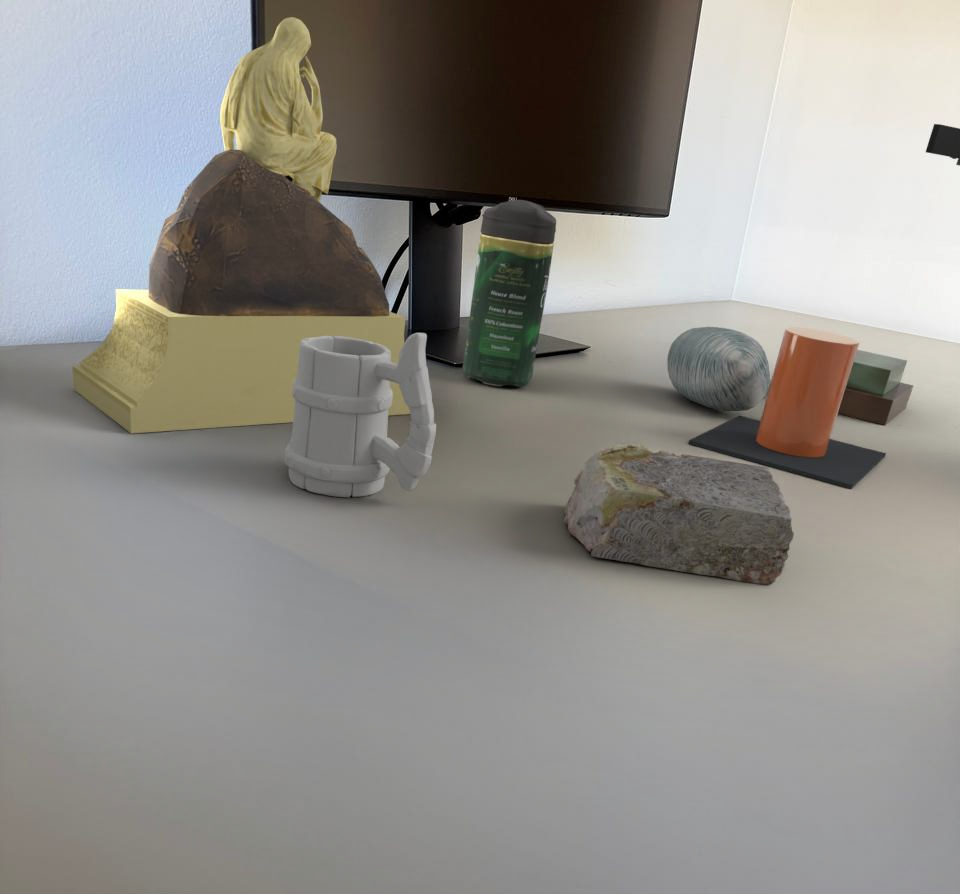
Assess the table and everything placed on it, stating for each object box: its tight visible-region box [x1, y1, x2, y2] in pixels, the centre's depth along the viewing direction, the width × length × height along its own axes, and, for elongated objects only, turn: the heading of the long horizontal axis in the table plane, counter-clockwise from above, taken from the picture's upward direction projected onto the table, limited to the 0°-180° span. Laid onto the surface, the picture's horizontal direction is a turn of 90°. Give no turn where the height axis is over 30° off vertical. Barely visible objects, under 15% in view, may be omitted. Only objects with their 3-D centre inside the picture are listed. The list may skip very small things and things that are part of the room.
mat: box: [688, 415, 887, 490], centre depth 98 cm, size 16×16×1 cm
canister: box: [756, 327, 860, 458], centre depth 96 cm, size 7×7×11 cm
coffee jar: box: [462, 199, 557, 388], centre depth 105 cm, size 10×8×19 cm
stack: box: [838, 349, 914, 426], centre depth 122 cm, size 14×14×6 cm
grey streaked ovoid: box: [666, 326, 771, 412], centre depth 110 cm, size 14×10×10 cm
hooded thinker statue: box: [72, 16, 411, 434], centre depth 81 cm, size 28×13×30 cm, turn 129°
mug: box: [284, 332, 437, 498], centre depth 69 cm, size 8×12×12 cm, turn 59°
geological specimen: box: [563, 442, 795, 586], centre depth 69 cm, size 11×6×15 cm
